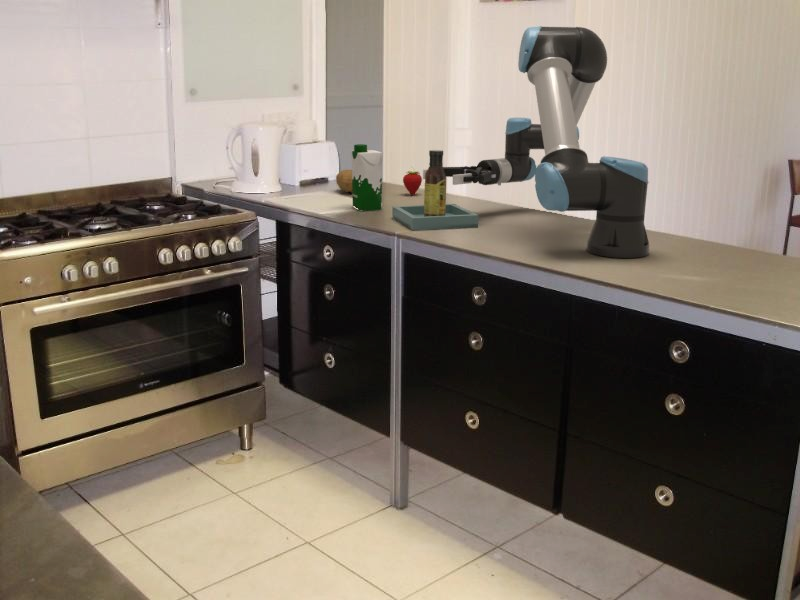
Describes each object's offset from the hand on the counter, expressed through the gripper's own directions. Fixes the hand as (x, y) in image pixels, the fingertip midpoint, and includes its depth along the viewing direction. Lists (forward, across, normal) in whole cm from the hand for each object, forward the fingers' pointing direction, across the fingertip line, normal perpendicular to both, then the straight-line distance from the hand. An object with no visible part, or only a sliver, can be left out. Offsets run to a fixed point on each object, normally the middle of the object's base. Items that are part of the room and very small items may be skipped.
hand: (438, 177), depth 250 cm
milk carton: (+5, +30, -13) cm, 33 cm away
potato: (-9, +60, -13) cm, 62 cm away
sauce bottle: (+1, 0, -12) cm, 12 cm away
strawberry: (-24, +43, -13) cm, 51 cm away
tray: (+1, 0, -13) cm, 13 cm away
